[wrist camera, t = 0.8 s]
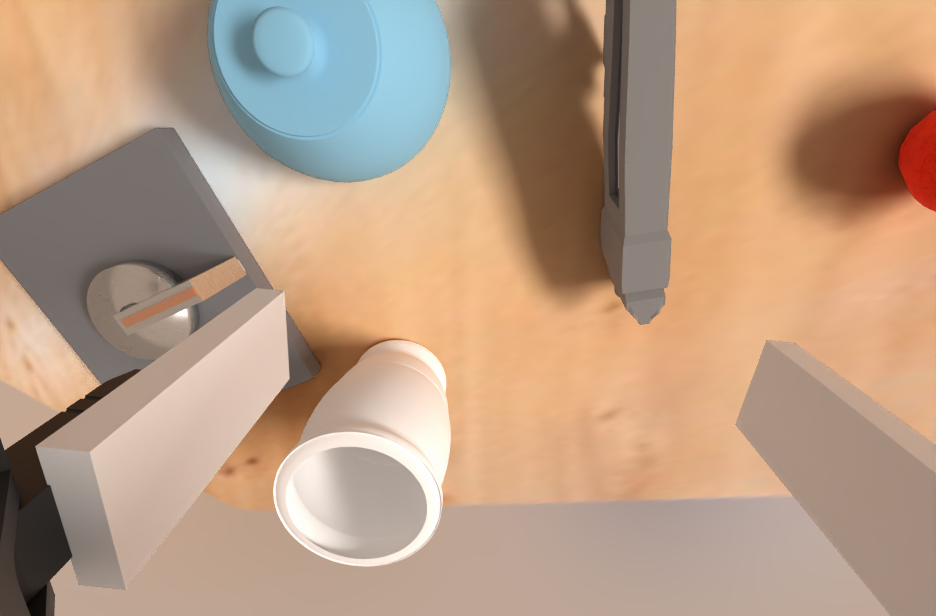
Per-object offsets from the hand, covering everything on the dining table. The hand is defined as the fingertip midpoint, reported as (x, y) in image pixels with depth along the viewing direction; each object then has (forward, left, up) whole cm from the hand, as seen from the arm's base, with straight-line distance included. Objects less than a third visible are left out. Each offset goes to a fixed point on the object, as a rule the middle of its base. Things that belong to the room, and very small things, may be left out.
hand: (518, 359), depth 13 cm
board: (-4, -29, -25) cm, 39 cm away
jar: (+11, -14, -25) cm, 31 cm away
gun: (-3, +10, -25) cm, 27 cm away
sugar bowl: (-13, -6, -25) cm, 29 cm away
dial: (-4, -27, -23) cm, 35 cm away
